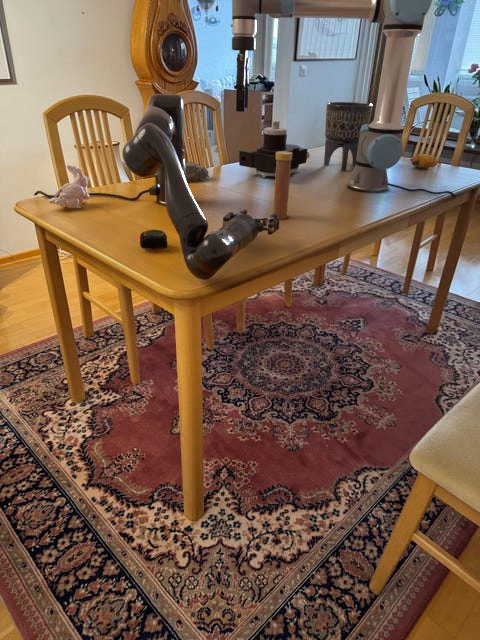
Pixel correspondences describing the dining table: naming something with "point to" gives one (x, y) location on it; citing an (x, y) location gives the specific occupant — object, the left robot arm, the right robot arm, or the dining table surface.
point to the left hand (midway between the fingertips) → (260, 215)
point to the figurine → (72, 190)
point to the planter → (344, 129)
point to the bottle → (281, 188)
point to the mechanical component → (273, 152)
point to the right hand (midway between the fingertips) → (242, 109)
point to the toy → (424, 161)
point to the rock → (195, 172)
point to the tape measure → (153, 239)
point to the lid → (283, 156)
